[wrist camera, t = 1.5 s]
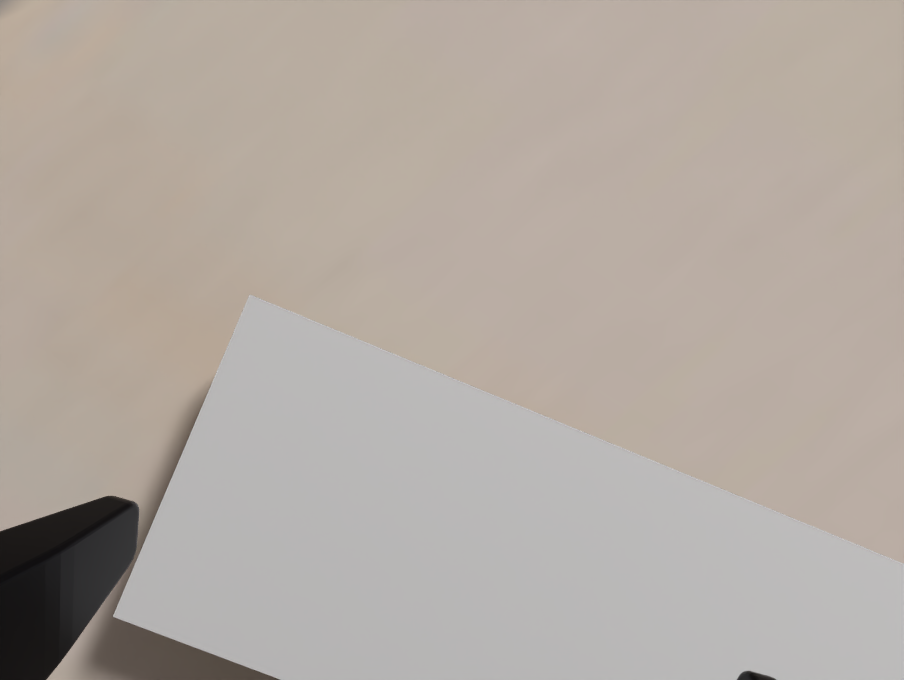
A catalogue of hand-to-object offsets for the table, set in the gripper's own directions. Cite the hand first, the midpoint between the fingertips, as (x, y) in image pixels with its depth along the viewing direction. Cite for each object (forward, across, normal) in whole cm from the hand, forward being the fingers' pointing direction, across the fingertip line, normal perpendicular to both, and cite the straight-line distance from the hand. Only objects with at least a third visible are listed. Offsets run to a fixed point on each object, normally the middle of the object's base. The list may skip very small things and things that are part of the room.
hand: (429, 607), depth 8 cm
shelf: (+15, -6, +9) cm, 18 cm away
